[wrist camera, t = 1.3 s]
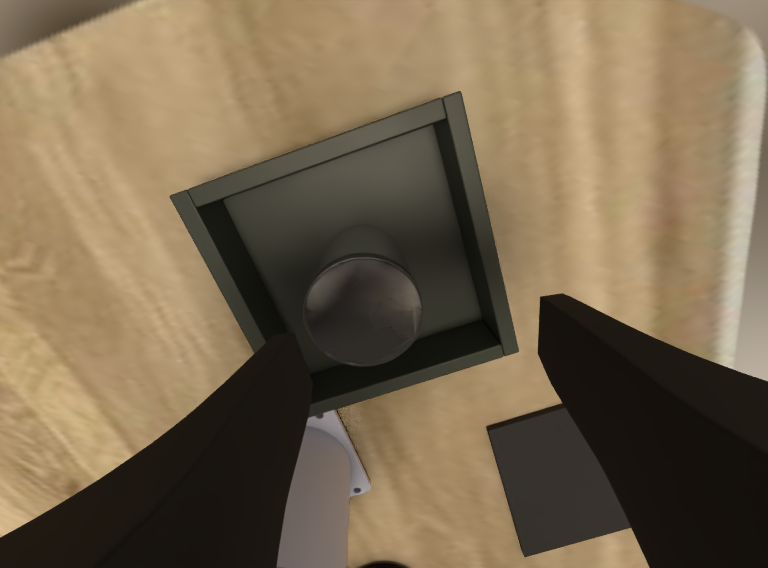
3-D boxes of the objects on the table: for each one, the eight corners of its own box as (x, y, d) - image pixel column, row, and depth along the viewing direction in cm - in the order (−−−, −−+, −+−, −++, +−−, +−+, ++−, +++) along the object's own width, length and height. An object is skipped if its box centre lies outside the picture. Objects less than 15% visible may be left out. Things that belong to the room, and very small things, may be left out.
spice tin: (339, 312, 20) (329, 381, 14) (308, 239, 18) (282, 280, 12) (414, 287, 20) (438, 346, 14) (389, 211, 18) (404, 239, 12)
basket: (302, 383, 22) (292, 423, 19) (204, 188, 18) (168, 196, 14) (495, 322, 21) (519, 352, 18) (442, 102, 17) (461, 89, 14)
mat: (522, 552, 29) (524, 557, 29) (486, 426, 24) (488, 431, 24) (690, 505, 28) (695, 509, 28) (688, 365, 23) (693, 368, 23)
